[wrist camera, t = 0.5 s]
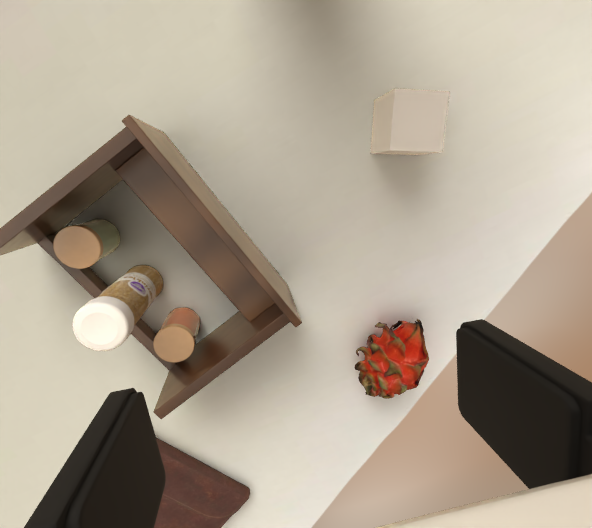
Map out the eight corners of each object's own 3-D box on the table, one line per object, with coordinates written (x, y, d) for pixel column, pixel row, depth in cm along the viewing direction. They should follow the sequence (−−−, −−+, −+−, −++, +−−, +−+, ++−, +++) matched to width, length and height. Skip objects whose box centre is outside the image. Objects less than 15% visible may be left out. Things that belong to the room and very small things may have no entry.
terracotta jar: (157, 320, 44) (144, 342, 38) (184, 299, 44) (175, 318, 38) (181, 345, 45) (172, 369, 40) (208, 324, 45) (202, 346, 39)
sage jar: (71, 234, 40) (42, 244, 34) (101, 210, 40) (77, 216, 34) (100, 262, 41) (77, 277, 36) (129, 240, 41) (110, 251, 35)
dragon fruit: (345, 372, 51) (392, 306, 52) (395, 412, 48) (445, 341, 49) (335, 376, 44) (390, 297, 44) (394, 424, 40) (453, 339, 41)
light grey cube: (373, 99, 41) (395, 87, 35) (422, 102, 42) (450, 91, 36) (370, 153, 43) (389, 150, 37) (416, 155, 43) (443, 152, 38)
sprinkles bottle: (169, 273, 43) (136, 316, 30) (154, 305, 44) (115, 361, 31) (133, 257, 42) (82, 294, 29) (117, 290, 42) (61, 340, 30)
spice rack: (39, 231, 40) (-46, 255, 28) (163, 131, 39) (129, 114, 27) (178, 368, 46) (156, 433, 35) (287, 285, 45) (302, 323, 34)
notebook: (188, 554, 54) (186, 568, 52) (69, 500, 49) (62, 513, 47) (249, 485, 52) (250, 497, 50) (133, 422, 47) (128, 433, 45)
